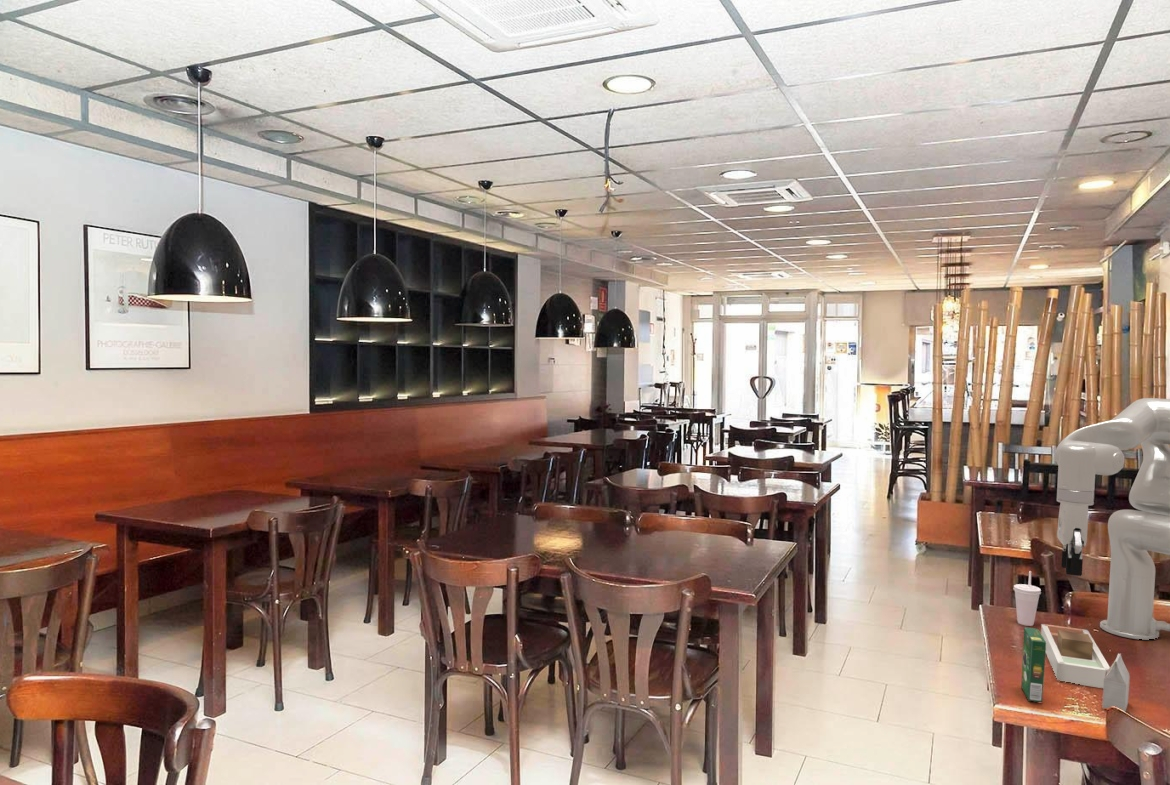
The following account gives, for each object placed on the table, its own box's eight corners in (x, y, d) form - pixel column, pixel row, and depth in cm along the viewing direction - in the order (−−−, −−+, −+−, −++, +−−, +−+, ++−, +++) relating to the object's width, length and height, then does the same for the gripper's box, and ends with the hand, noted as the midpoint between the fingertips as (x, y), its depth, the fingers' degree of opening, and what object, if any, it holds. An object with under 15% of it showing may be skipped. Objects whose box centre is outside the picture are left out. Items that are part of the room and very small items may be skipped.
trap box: (1086, 646, 193) (1087, 629, 192) (1111, 689, 167) (1112, 671, 167) (1040, 639, 196) (1041, 623, 196) (1057, 681, 171) (1058, 663, 171)
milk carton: (1128, 703, 160) (1130, 655, 160) (1124, 714, 155) (1127, 665, 155) (1106, 698, 163) (1109, 650, 162) (1102, 709, 158) (1105, 660, 157)
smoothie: (1044, 628, 205) (1047, 575, 204) (1019, 627, 205) (1022, 574, 204) (1031, 619, 211) (1033, 568, 211) (1007, 619, 212) (1009, 567, 211)
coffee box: (1043, 704, 159) (1047, 641, 158) (1027, 702, 160) (1030, 639, 159) (1035, 689, 166) (1038, 628, 166) (1020, 686, 167) (1023, 626, 167)
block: (1087, 651, 182) (1087, 634, 182) (1092, 660, 177) (1093, 642, 176) (1057, 646, 185) (1058, 630, 184) (1061, 655, 179) (1062, 638, 179)
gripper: (1051, 489, 197) (1048, 561, 197) (1062, 501, 181) (1058, 578, 182) (1086, 492, 194) (1083, 564, 194) (1101, 504, 178) (1096, 582, 179)
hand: (1071, 570), depth 188 cm, fingers open, 5 cm apart
